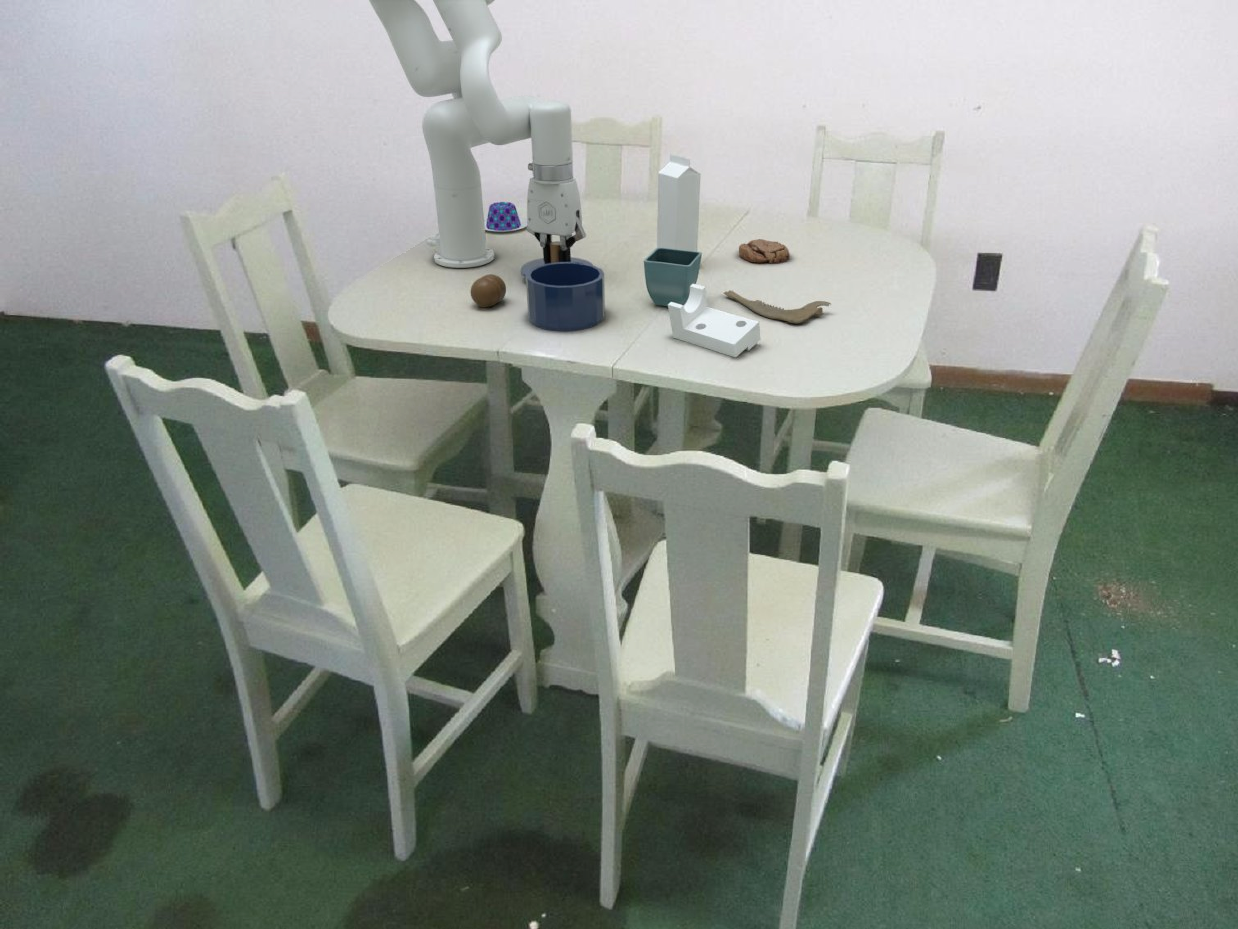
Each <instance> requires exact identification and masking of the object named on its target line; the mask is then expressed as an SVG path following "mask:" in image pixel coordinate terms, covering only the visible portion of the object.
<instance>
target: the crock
mask: <svg viewBox="0 0 1238 929" xmlns="http://www.w3.org/2000/svg"><path fill="white" fill-rule="evenodd" d="M525 287H526V303H527V317H528V320H529V323H531V324H532V325H533V326H535V327H537V328H539V329H542V330H547V331H554V332H576V331H582V330H588V329H591V328H594V327H596V326H599V325H600V324H601V323H602V322H603V321H604V319H605V314H606V300H605V299H606V298H605V297H606V291H605V290H606V288H605V272H604V270H602V268H600V267H598V266H596V265H594V264H593V265H590V264H586V263H578V262H556V263H548V264H544V265H540V266H537V267H534V268H533V269H531V270H529V271H528V272H527V274H526V278H525Z"/></svg>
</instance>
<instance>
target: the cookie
mask: <svg viewBox="0 0 1238 929" xmlns="http://www.w3.org/2000/svg"><path fill="white" fill-rule="evenodd" d="M738 255H739V257H740V258H742V259H744V260H745V261H748V262H750V263H757V264H759V263H760V264H762V263H769V264H780V263H782V262H786V261H788V260H789V258H790V251H789V248H788V247H787V245H785V244H783V243H781V242H778V241H774V240H773V241H772V240H766V239H762V238H759V239H757V238H756V239H752V240H749V242H747V243H742V244H740V245H739V246H738Z"/></svg>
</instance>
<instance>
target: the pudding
mask: <svg viewBox="0 0 1238 929" xmlns="http://www.w3.org/2000/svg"><path fill="white" fill-rule="evenodd" d="M484 226H485V231H489V232H496V233H507V232H513V231H514V232H515V231H518V230H521V229H524V228H527V219H525V218H522V217H519V214H518V211H517V207H516V205H515V204H514V203H512V202H509V201H499V202H493V203H491V204H489V206H488V212H487V218H485V219H484Z"/></svg>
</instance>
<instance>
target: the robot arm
mask: <svg viewBox="0 0 1238 929" xmlns="http://www.w3.org/2000/svg"><path fill="white" fill-rule="evenodd" d="M368 1H369V3H370V5H371V7H372V9H373V10H374V12H375V14H376V16H377V17H378V19H379V20H380V22H381V25H382V26H383V28H384V30H385V31H386V33H387V36H388V38H389V41H390V43H391V45H392V48H393V50H394V52H395V55H396V57H397V60H398V61H399V64H400V66H401V68H402V70H403V72H404V75H405V77H406V79H407V82H408V83H409V85H410V87H411V88H412V90H413V92H415V93H416V95H418V96H420V97H422V98H423V97H424V98H434V97H441V96H445V95H446V96H447V95H450V94H451V96H452V97H453V98H449V99H445V100H442V101H439V102H436V103H434V104H432V105H431V106H429V108H427V109H426V111H425V113H424V115H423V117H422V125H421V126H422V127H421V128H422V134H423V138H424V141H425V144H426V148H427V151H428V156H429V160H430V165H431V172H432V182H433V189H434V200H435V210H436V218H437V219H436V220H437V228H438V234H434V233H431V234H430V235H429V236H428V239H427V240H426V245H427V246H429V247H435V249H436V252H435V253H434V255H433V260H434V262H435V263H436V264H437V265H439V266H442V267H444V268H445V267H446V268H453V269H454V268H455V269H465V268H466V269H467V268H476V267H481V266H483V265H484V266H485V265H488V264H489V263H492V261H493V260H494V259H495V252H494V250H493V249H491V248H490V247H488V246H487V241H486V230H485V226H484V220H485V215H484V213H485V212H484V202H483V189H482V178H481V177H482V176H481V171H480V167H479V164H478V163H477V162H478V161H477V160H476V159H475V156H474V154H473V152H472V148H475V147H479V146H482V145H486V144H489V143H490V144H492V145H494V146H505V145H509V144H512V143H516V142H519V141H524V140H525V141H526V140H528V139H531V156H532V157H531V158H532V162H529V163H528V164H527V169H528V171H531V172H532V176H533V177H531V178H529V181H528V188H527V198H526V220H527V226H526V227H525V228H526V229H525V230H526V231H527V233H529V234H531V235H532V236H534V237H535V239H536V240H537V241H538V242H539V246H540V247H541V248H542V256H543V257H542V258H543V260H544V263H545V264H548V263H551V259H550V243H551V242H553V236H558V237H559V241H560V246H561V250H559V251H558V256H559V262H571V257H572V255H571V248H572V247H573V246H574V245H575V244H576V243H577V242H579V241H581V240H584V239H585V238H586V237H587V234H586V231H585V229H584V227H583V225H582V224H583V213H582V204H581V203H582V202H581V197H580V195H581V194H580V191H579V186H578V181H577V179H576V178H574V160H573V158H574V157H573V131H572V128H573V127H572V124H573V123H572V109H571V106H570V105H569V103H567V102H565V101H563V100H545V99H541V98H538V97H535V96H531V95H521V96H514V97H509V98H506V99H500V97H499V96H498V94H497V92H496V90H495V88H494V86H493V83H492V81H491V78H490V71H489V63H490V59H491V57H492V54H493V53H494V52H495V51H496V50H497V49H498V48H499V47H500V45H501V43H502V40H503V34H502V32H501V30H500V27H499V26H498V24H497V22H496V20H495V18H494V16H493V14H492V12H491V10H490V8H489V6H490V5H491V4H493V3H494V2H495V0H432V2H433V3H434V5H435V7H436V9H437V11H438V13H439V15H440V17H441V19H442V21H443V23H444V25H445V27H446V30H447V31H448V33H449V35H450V37H451V39H452V40H443V41H441V40H440V39H439V37H438V35H437V34H436V31H435V30H434V27H433V24H432V22H431V19H430V18H429V16H428V13H426V10H424V8H422V5H420V4H419V3H418V2H417V1H416V0H368ZM573 233H575V234H573Z"/></svg>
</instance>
